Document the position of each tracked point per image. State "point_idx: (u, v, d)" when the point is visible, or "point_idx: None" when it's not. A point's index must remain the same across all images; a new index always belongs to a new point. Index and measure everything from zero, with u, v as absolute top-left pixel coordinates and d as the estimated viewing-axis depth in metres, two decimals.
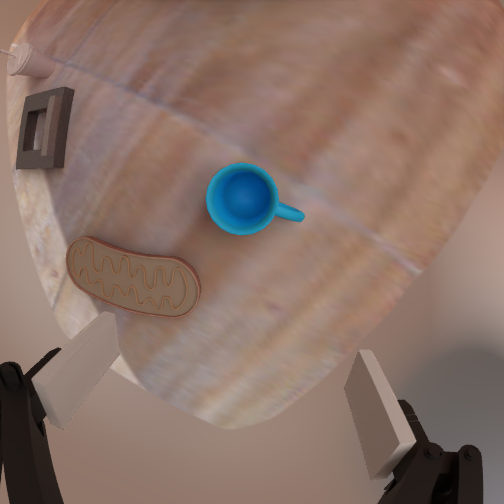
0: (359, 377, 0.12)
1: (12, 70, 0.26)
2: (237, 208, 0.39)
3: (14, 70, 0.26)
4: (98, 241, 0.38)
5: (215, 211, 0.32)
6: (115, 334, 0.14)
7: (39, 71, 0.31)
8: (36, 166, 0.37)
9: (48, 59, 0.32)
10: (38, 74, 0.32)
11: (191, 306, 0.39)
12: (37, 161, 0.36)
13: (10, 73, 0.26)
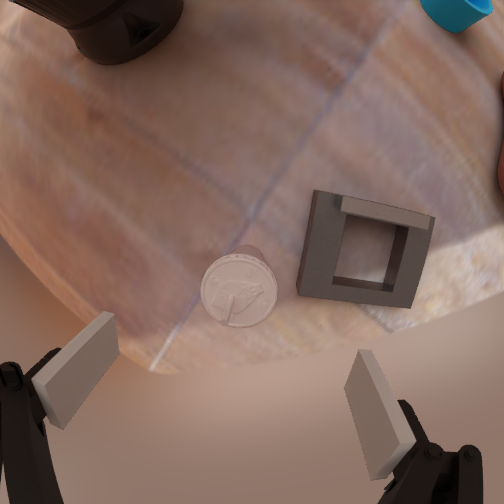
0: (359, 377, 0.12)
1: (267, 302, 0.23)
2: None
3: (270, 294, 0.23)
4: None
5: (483, 9, 0.14)
6: (115, 334, 0.14)
7: (263, 260, 0.28)
8: (424, 255, 0.28)
9: (237, 249, 0.29)
10: None
11: None
12: (418, 252, 0.28)
13: (271, 307, 0.23)
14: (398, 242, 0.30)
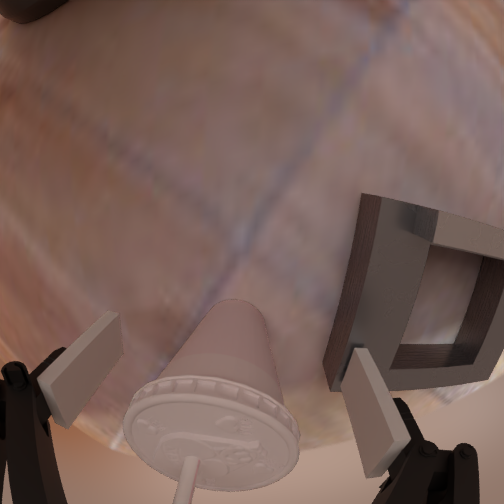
0: (355, 375, 0.13)
1: (275, 465, 0.08)
2: None
3: (282, 457, 0.08)
4: None
5: None
6: (119, 333, 0.14)
7: (266, 343, 0.13)
8: None
9: (212, 316, 0.14)
10: None
11: None
12: None
13: (284, 472, 0.08)
14: (487, 284, 0.14)
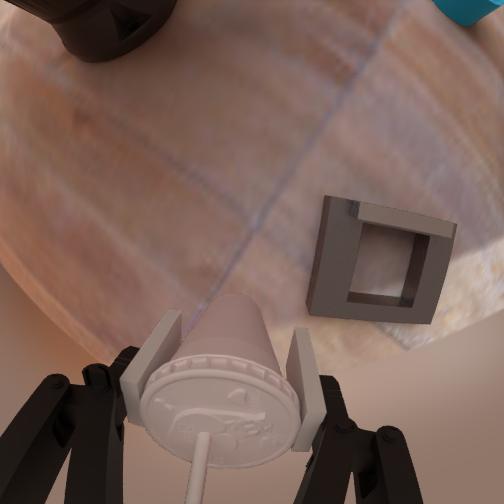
0: (293, 352, 0.14)
1: (278, 439, 0.09)
2: None
3: (285, 429, 0.09)
4: None
5: (495, 0, 0.11)
6: (180, 330, 0.16)
7: (265, 331, 0.15)
8: (445, 266, 0.24)
9: (214, 307, 0.16)
10: None
11: None
12: (440, 263, 0.24)
13: (287, 445, 0.09)
14: (417, 252, 0.26)
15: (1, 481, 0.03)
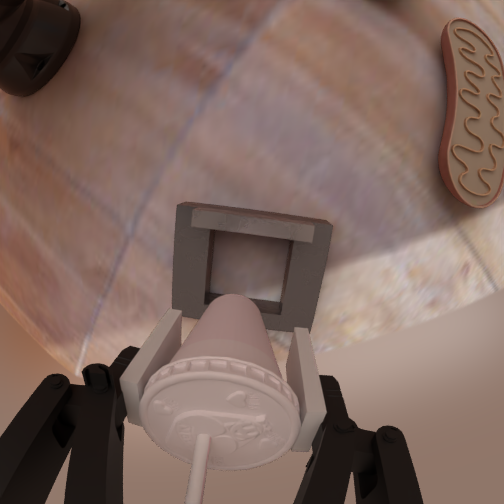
0: (293, 352, 0.14)
1: (278, 441, 0.09)
2: None
3: (285, 431, 0.09)
4: (448, 133, 0.20)
5: None
6: (180, 330, 0.16)
7: (265, 332, 0.15)
8: (320, 272, 0.26)
9: (214, 309, 0.16)
10: None
11: (484, 37, 0.16)
12: (311, 269, 0.26)
13: (287, 447, 0.09)
14: (289, 256, 0.27)
15: (1, 481, 0.03)
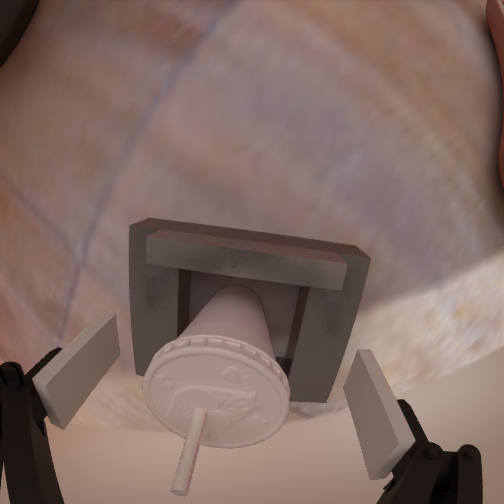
0: (358, 377, 0.12)
1: (269, 418, 0.11)
2: None
3: (275, 408, 0.10)
4: None
5: None
6: (116, 334, 0.14)
7: (263, 320, 0.16)
8: (347, 327, 0.17)
9: (217, 298, 0.17)
10: None
11: None
12: (335, 322, 0.16)
13: (277, 425, 0.11)
14: (300, 301, 0.18)
15: None
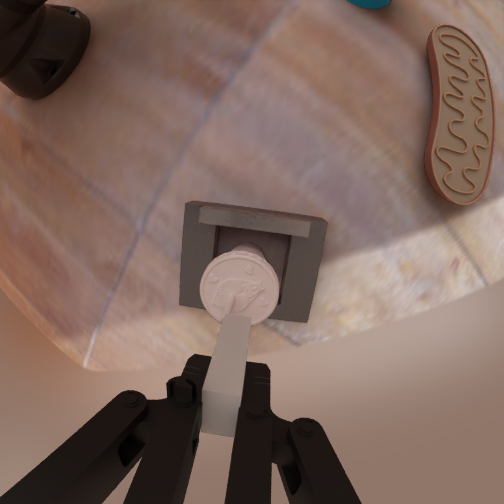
0: None
1: (268, 300, 0.23)
2: None
3: (271, 292, 0.22)
4: (432, 136, 0.23)
5: None
6: None
7: (264, 258, 0.28)
8: (316, 265, 0.28)
9: (237, 247, 0.29)
10: None
11: (469, 40, 0.19)
12: (308, 262, 0.28)
13: (273, 306, 0.23)
14: (287, 251, 0.30)
15: (46, 496, 0.04)
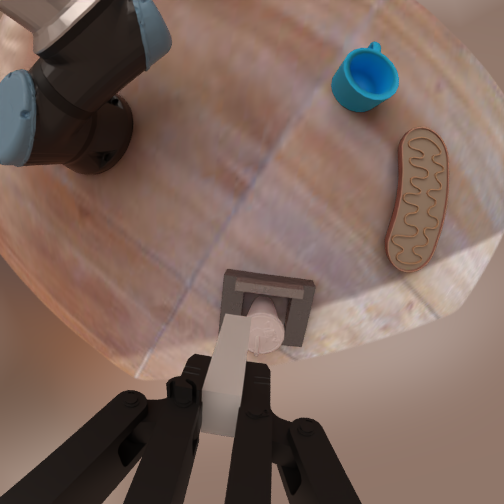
0: None
1: (278, 339, 0.38)
2: None
3: (280, 335, 0.38)
4: (390, 228, 0.39)
5: (383, 94, 0.31)
6: None
7: (275, 309, 0.44)
8: (307, 313, 0.44)
9: (257, 301, 0.45)
10: None
11: (436, 137, 0.35)
12: (302, 310, 0.44)
13: (280, 342, 0.38)
14: (289, 302, 0.46)
15: (46, 496, 0.04)
